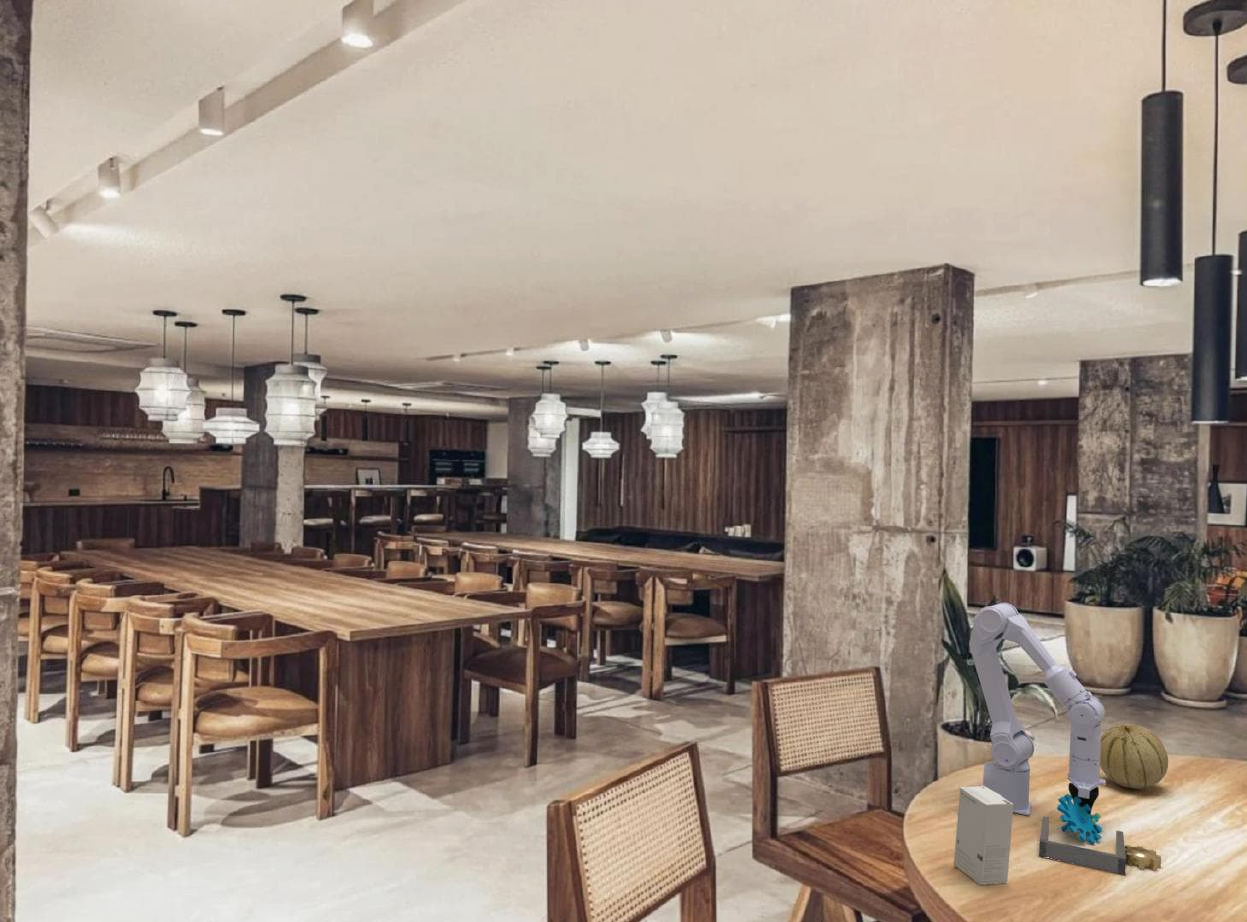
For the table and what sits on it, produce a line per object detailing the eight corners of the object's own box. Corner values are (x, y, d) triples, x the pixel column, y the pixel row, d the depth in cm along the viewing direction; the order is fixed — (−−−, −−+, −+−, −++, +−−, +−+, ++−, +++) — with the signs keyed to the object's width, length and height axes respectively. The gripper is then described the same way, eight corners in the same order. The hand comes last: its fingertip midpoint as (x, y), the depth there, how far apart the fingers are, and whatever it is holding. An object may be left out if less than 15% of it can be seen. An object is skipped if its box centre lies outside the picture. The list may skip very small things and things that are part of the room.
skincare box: (953, 866, 165) (956, 786, 165) (981, 863, 166) (984, 784, 166) (982, 887, 157) (985, 803, 157) (1011, 884, 158) (1014, 801, 158)
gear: (1078, 841, 174) (1053, 791, 181) (1057, 853, 177) (1033, 805, 184) (1117, 841, 178) (1090, 793, 185) (1096, 853, 182) (1070, 805, 189)
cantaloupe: (1167, 784, 213) (1170, 722, 213) (1166, 803, 200) (1168, 737, 200) (1097, 771, 221) (1100, 711, 221) (1092, 788, 208) (1094, 724, 208)
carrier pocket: (1038, 856, 170) (1039, 841, 170) (1042, 830, 183) (1042, 815, 183) (1163, 883, 161) (1164, 867, 161) (1158, 854, 173) (1158, 838, 173)
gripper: (1107, 770, 177) (1104, 838, 177) (1105, 750, 190) (1103, 813, 190) (1067, 763, 180) (1065, 830, 180) (1068, 744, 193) (1066, 806, 193)
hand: (1082, 821), depth 185 cm, fingers closed
